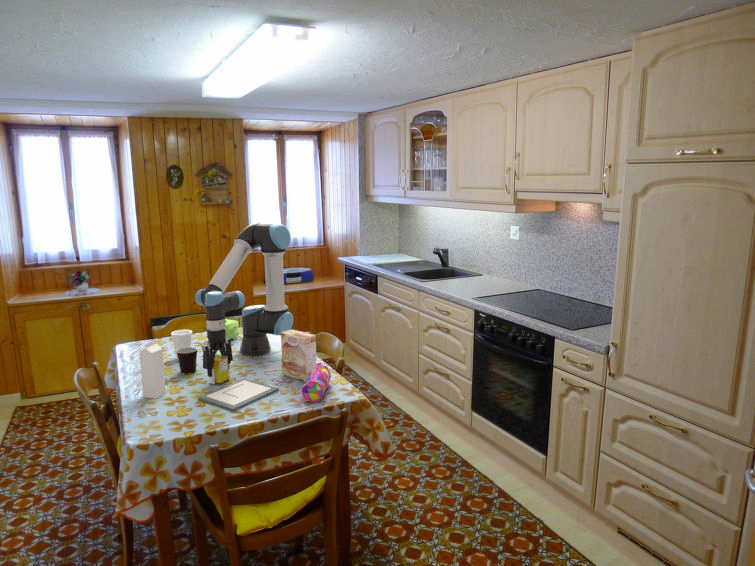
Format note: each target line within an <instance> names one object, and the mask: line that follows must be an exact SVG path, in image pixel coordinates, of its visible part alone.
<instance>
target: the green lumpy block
mask: <svg viewBox="0 0 755 566" xmlns="http://www.w3.org/2000/svg"><path fill="white" fill-rule="evenodd" d="M225 329H226V337H225V338H228V339H231V340H235V339H236V337H238V336H239V335H240V331H239V320H233V319H227V318H225Z"/></svg>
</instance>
